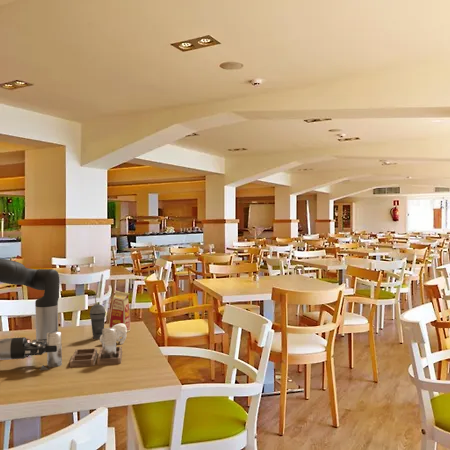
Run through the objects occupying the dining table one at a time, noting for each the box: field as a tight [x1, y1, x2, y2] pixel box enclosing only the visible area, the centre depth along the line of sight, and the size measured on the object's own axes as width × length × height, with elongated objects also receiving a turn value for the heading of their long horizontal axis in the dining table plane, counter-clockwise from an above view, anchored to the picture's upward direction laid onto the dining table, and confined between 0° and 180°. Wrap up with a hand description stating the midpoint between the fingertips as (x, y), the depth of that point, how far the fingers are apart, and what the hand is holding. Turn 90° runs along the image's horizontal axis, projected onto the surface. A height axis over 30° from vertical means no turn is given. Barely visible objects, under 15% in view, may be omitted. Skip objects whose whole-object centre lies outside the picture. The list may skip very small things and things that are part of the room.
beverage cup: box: [89, 294, 106, 340], centre depth 224 cm, size 7×7×20 cm
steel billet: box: [46, 330, 63, 368], centre depth 178 cm, size 5×5×12 cm
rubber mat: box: [39, 364, 50, 371], centre depth 178 cm, size 9×9×1 cm
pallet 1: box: [69, 347, 99, 368], centre depth 184 cm, size 18×9×3 cm, turn 10°
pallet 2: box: [96, 346, 123, 366], centre depth 186 cm, size 18×9×3 cm, turn 10°
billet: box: [101, 327, 117, 359], centre depth 181 cm, size 5×5×12 cm
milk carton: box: [108, 290, 131, 333], centre depth 238 cm, size 9×9×20 cm
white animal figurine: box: [99, 323, 128, 345], centre depth 213 cm, size 6×8×12 cm
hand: (58, 345), depth 178 cm, fingers open, 8 cm apart
